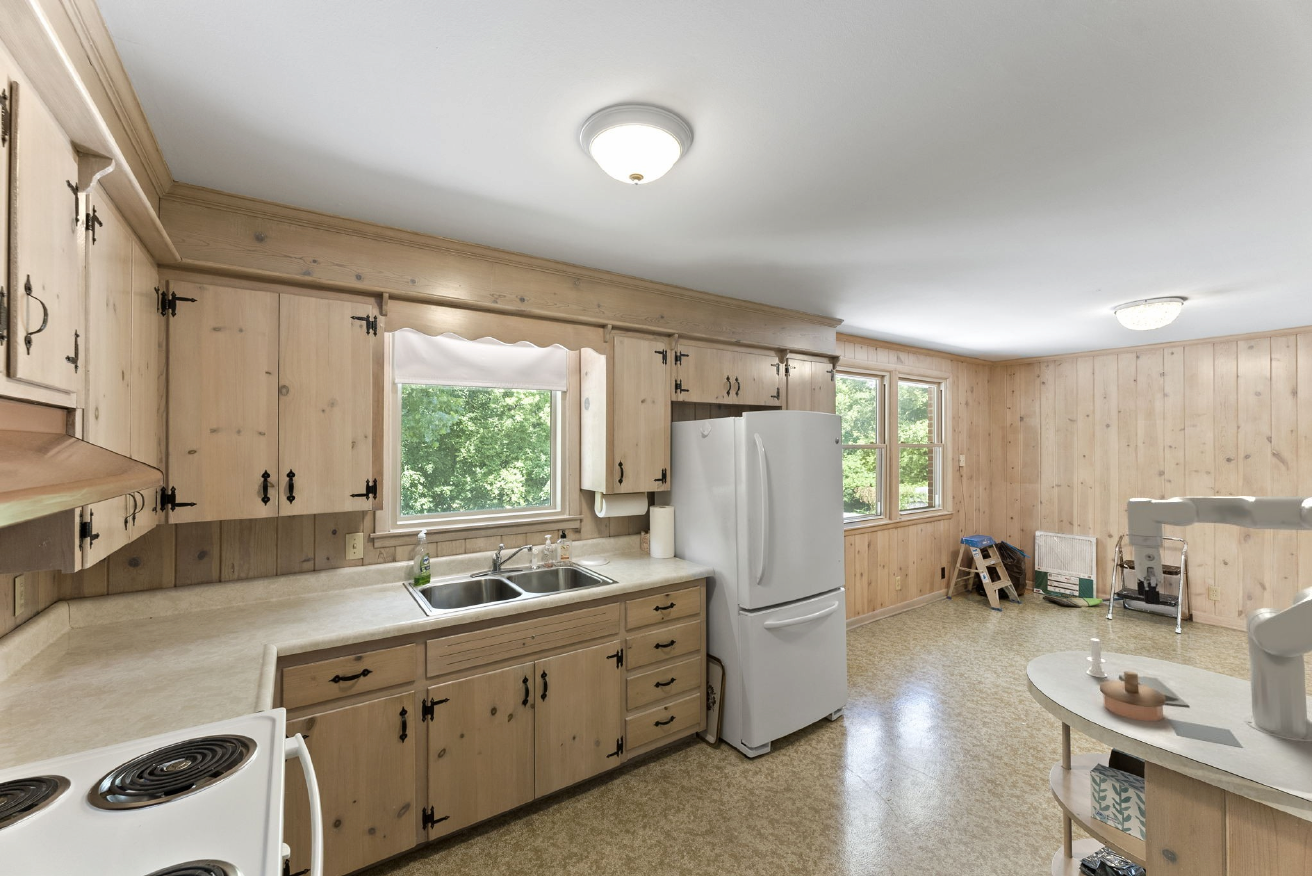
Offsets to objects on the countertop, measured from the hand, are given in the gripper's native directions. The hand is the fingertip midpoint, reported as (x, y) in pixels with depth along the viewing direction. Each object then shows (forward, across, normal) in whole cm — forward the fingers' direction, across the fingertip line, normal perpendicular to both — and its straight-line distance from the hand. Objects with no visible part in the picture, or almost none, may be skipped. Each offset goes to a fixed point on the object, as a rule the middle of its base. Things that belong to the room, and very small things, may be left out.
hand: (1148, 599), depth 160 cm
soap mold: (+31, +9, -1) cm, 33 cm away
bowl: (+30, -9, +6) cm, 32 cm away
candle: (+31, +19, +11) cm, 38 cm away
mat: (+30, -16, -7) cm, 35 cm away
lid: (+25, -9, +6) cm, 28 cm away
